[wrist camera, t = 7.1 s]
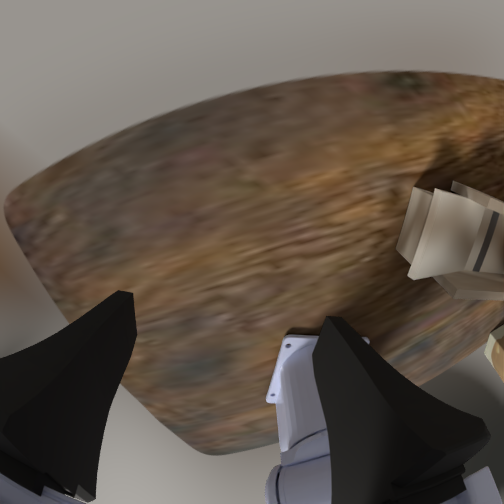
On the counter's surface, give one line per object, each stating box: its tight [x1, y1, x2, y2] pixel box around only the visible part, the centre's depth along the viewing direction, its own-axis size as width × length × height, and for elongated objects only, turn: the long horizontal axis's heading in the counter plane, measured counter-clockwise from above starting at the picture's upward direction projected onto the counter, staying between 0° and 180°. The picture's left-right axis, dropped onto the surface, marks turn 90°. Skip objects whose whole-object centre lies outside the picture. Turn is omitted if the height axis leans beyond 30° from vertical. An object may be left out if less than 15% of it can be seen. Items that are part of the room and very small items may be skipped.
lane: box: [396, 181, 504, 300], centre depth 18 cm, size 8×18×4 cm, turn 83°
